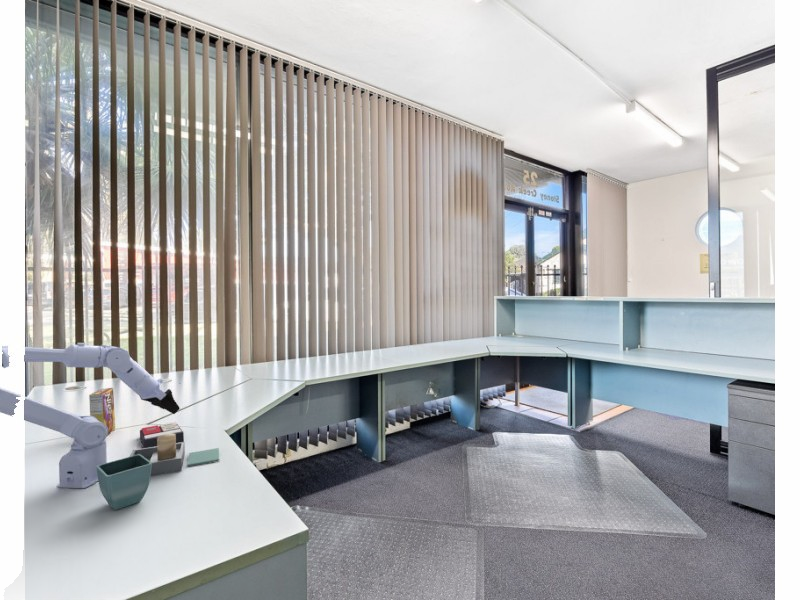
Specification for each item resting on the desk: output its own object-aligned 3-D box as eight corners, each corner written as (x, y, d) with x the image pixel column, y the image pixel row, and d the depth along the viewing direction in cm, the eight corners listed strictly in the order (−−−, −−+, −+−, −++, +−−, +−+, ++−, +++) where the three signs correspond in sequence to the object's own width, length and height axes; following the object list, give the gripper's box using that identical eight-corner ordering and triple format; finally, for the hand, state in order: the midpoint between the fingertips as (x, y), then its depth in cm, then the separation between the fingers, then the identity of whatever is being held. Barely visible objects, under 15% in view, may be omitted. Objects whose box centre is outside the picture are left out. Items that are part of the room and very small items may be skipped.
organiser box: (123, 481, 98) (123, 468, 98) (133, 462, 110) (133, 449, 110) (181, 470, 104) (181, 458, 104) (184, 453, 116) (184, 441, 116)
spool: (169, 461, 106) (168, 439, 106) (153, 460, 106) (153, 439, 106) (179, 454, 110) (179, 433, 110) (164, 454, 111) (164, 433, 111)
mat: (187, 466, 107) (187, 464, 107) (189, 454, 115) (189, 452, 115) (219, 461, 110) (219, 459, 110) (218, 449, 118) (218, 447, 118)
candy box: (101, 430, 137) (100, 388, 137) (115, 429, 138) (114, 387, 138) (89, 439, 128) (88, 394, 128) (104, 438, 130) (103, 393, 129)
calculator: (176, 420, 137) (183, 429, 125) (176, 432, 137) (184, 443, 125) (139, 427, 130) (143, 437, 118) (139, 440, 130) (143, 451, 118)
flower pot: (140, 489, 95) (140, 453, 94) (153, 500, 89) (152, 462, 89) (96, 504, 88) (95, 465, 88) (107, 518, 82) (106, 476, 82)
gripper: (159, 371, 107) (192, 402, 114) (141, 366, 116) (172, 394, 123) (137, 391, 103) (172, 421, 110) (120, 384, 112) (154, 412, 119)
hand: (171, 408), depth 116 cm, fingers open, 7 cm apart
